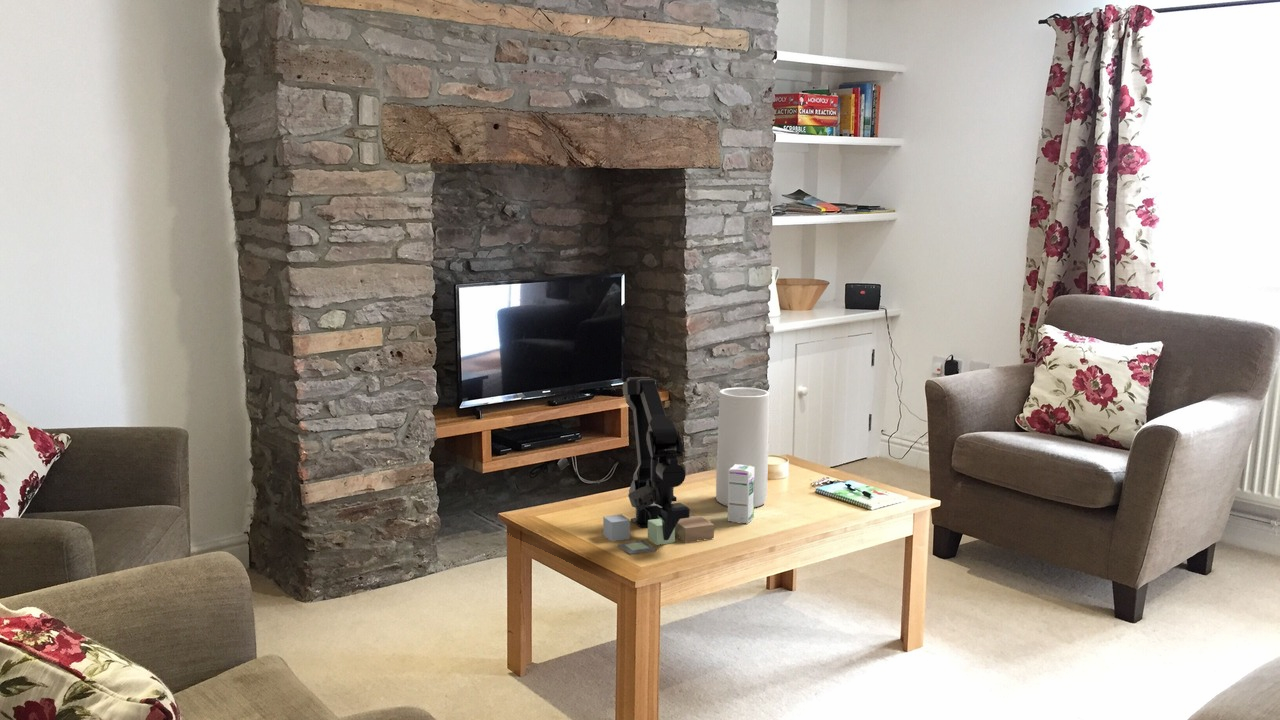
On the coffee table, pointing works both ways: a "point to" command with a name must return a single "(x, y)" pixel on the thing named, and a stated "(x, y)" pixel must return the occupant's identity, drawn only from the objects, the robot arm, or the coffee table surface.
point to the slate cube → (616, 527)
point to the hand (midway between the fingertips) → (661, 536)
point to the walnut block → (694, 529)
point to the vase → (743, 438)
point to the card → (636, 547)
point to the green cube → (658, 532)
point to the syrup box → (741, 493)
